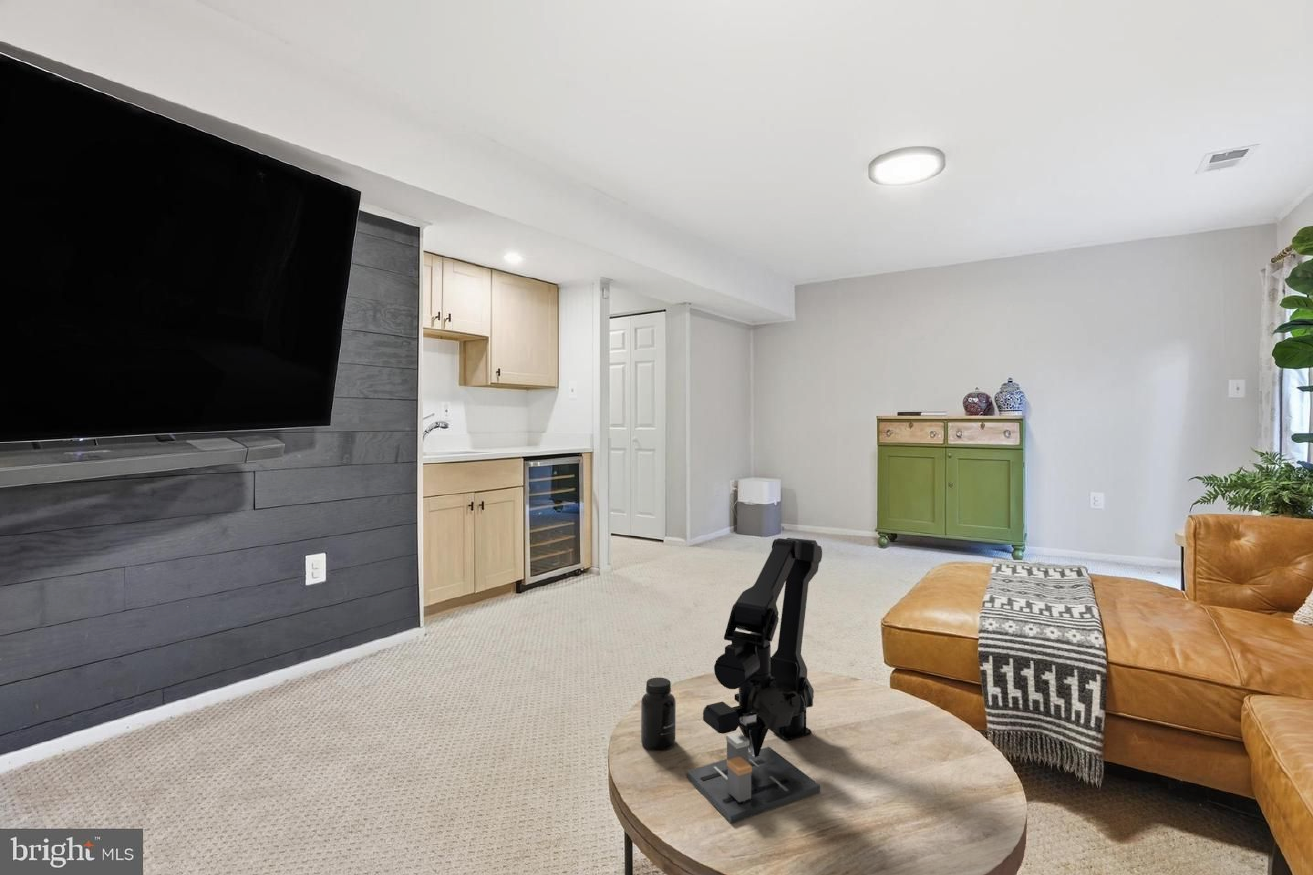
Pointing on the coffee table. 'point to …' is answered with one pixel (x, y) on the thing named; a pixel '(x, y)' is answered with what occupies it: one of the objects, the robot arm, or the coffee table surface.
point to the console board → (754, 785)
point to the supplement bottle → (658, 715)
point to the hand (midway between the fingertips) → (754, 755)
